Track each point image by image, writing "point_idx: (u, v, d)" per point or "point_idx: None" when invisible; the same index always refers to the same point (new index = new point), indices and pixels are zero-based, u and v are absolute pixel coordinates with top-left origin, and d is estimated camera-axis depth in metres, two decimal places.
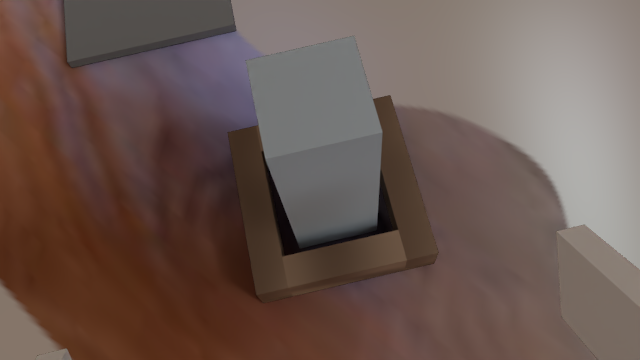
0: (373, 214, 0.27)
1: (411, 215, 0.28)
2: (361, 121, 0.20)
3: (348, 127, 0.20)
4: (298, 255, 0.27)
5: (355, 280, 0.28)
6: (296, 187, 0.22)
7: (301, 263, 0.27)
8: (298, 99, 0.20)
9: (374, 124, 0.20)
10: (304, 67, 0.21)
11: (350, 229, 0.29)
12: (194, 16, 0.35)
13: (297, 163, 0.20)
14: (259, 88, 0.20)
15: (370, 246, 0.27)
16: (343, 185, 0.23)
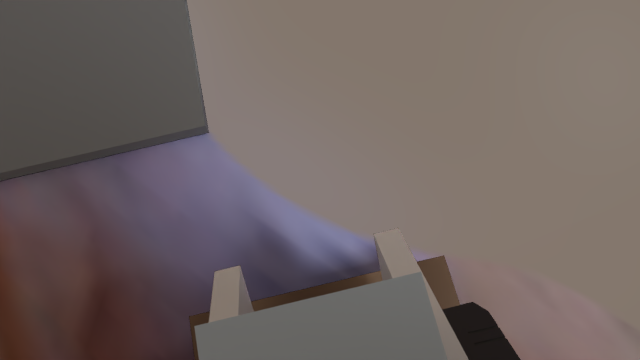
0: None
1: None
2: None
3: None
4: None
5: None
6: None
7: None
8: None
9: None
10: (318, 347, 0.10)
11: None
12: (147, 113, 0.24)
13: None
14: None
15: None
16: None
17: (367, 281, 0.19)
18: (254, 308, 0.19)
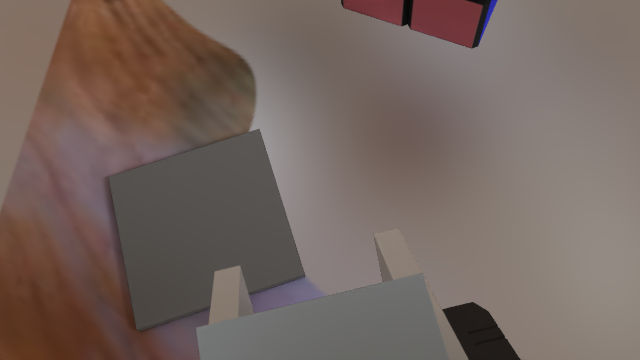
0: None
1: None
2: None
3: None
4: None
5: None
6: None
7: None
8: None
9: None
10: (320, 349, 0.10)
11: None
12: (262, 267, 0.34)
13: None
14: None
15: None
16: None
17: None
18: None
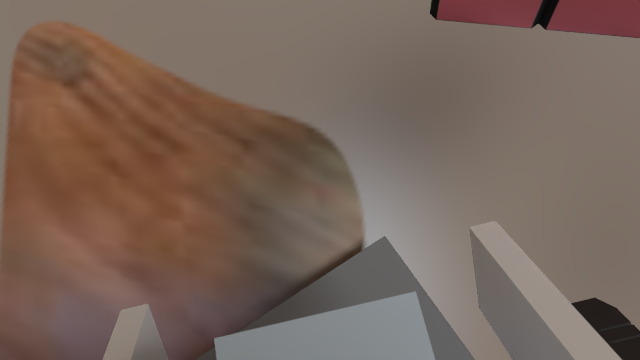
0: None
1: None
2: None
3: None
4: None
5: None
6: None
7: None
8: None
9: None
10: (324, 358, 0.11)
11: None
12: None
13: None
14: None
15: None
16: None
17: None
18: None
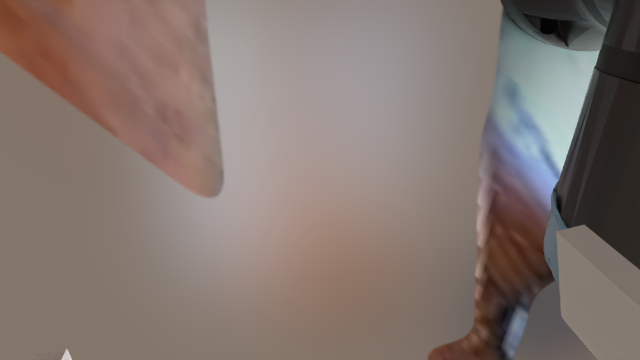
0: None
1: None
2: None
3: None
4: None
5: None
6: None
7: None
8: None
9: None
10: None
11: None
12: None
13: None
14: None
15: None
16: None
17: None
18: None
